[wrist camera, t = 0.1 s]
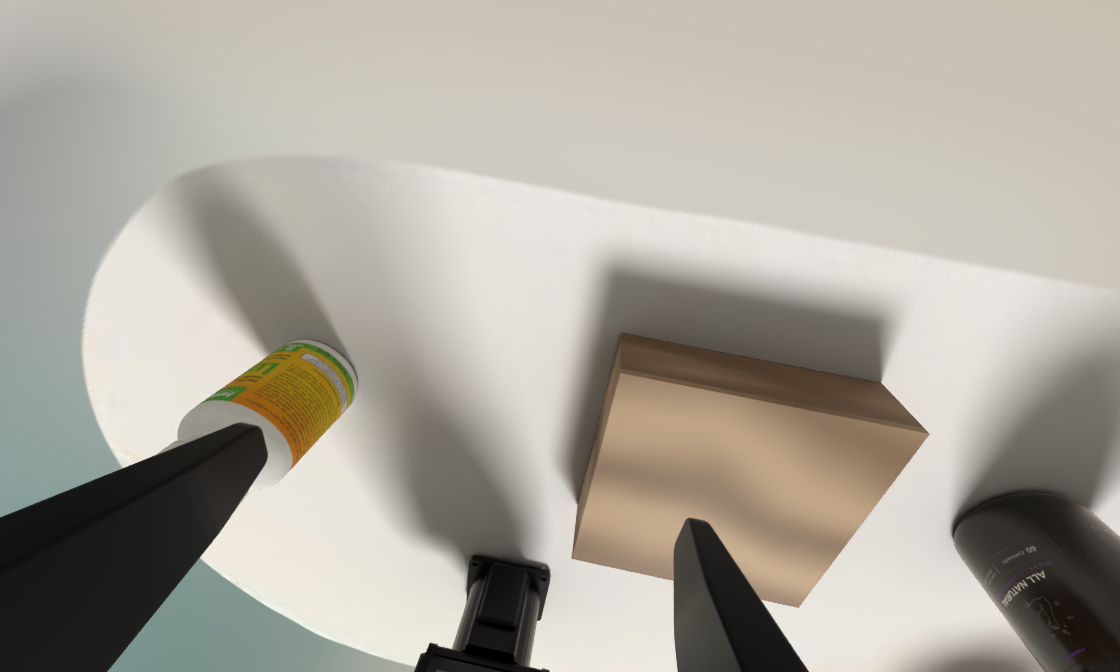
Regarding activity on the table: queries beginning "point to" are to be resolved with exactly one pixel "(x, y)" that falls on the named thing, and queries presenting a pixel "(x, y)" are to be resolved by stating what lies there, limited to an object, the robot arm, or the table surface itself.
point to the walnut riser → (736, 463)
